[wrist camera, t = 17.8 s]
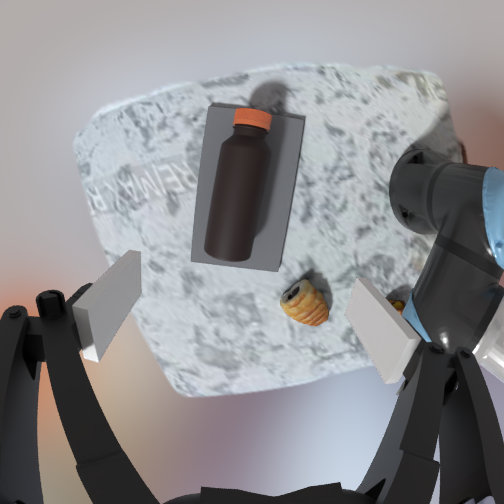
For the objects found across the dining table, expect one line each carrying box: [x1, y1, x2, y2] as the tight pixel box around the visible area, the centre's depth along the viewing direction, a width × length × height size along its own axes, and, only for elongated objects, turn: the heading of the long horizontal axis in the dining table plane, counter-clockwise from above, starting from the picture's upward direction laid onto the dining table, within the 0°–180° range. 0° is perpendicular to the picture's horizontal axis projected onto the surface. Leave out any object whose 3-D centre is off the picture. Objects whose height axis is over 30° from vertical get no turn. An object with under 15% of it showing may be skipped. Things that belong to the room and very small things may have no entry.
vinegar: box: [204, 108, 272, 262], centre depth 35 cm, size 7×7×20 cm
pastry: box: [280, 279, 329, 326], centre depth 45 cm, size 9×7×4 cm
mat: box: [191, 106, 304, 272], centre depth 39 cm, size 14×24×1 cm, turn 172°
